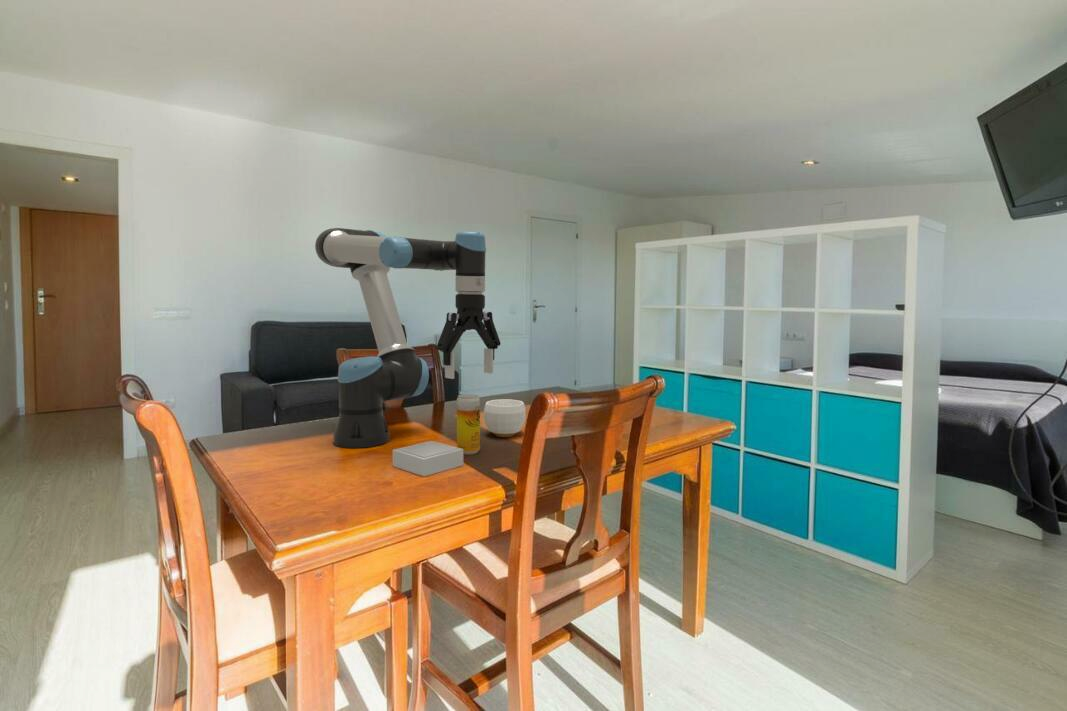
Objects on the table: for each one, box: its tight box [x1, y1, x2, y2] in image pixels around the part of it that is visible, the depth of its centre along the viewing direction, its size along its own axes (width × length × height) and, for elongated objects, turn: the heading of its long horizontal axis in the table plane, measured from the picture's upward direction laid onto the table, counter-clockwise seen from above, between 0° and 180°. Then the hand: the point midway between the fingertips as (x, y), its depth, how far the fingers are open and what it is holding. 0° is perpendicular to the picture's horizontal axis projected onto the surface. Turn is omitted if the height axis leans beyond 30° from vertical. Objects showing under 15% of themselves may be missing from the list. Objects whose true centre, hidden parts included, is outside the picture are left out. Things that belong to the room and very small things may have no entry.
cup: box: [483, 398, 527, 438], centre depth 172 cm, size 12×12×10 cm
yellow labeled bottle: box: [456, 393, 481, 455], centre depth 153 cm, size 6×6×15 cm
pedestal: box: [392, 440, 464, 478], centre depth 141 cm, size 12×12×4 cm
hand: (469, 375), depth 151 cm, fingers open, 13 cm apart
